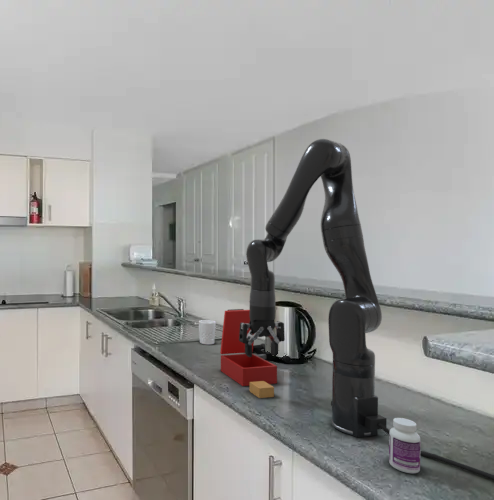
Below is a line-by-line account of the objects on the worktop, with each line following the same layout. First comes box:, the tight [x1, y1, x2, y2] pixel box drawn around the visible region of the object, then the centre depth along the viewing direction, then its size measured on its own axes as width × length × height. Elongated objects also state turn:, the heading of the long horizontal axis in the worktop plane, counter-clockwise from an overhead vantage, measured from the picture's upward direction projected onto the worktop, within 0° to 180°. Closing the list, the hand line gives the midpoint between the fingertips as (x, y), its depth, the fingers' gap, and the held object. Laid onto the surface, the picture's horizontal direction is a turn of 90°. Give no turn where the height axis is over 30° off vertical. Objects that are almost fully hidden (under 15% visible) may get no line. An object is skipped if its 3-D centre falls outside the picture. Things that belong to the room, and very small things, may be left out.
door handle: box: [252, 343, 292, 363], centre depth 161 cm, size 3×20×16 cm
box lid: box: [219, 308, 255, 355], centre depth 145 cm, size 17×13×5 cm
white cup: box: [198, 319, 217, 345], centre depth 184 cm, size 8×8×10 cm
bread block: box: [249, 381, 275, 399], centre depth 122 cm, size 6×5×3 cm
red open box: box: [220, 353, 278, 387], centre depth 138 cm, size 16×13×6 cm
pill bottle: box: [388, 417, 422, 474], centre depth 83 cm, size 5×5×10 cm
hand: (261, 355), depth 122 cm, fingers open, 8 cm apart
